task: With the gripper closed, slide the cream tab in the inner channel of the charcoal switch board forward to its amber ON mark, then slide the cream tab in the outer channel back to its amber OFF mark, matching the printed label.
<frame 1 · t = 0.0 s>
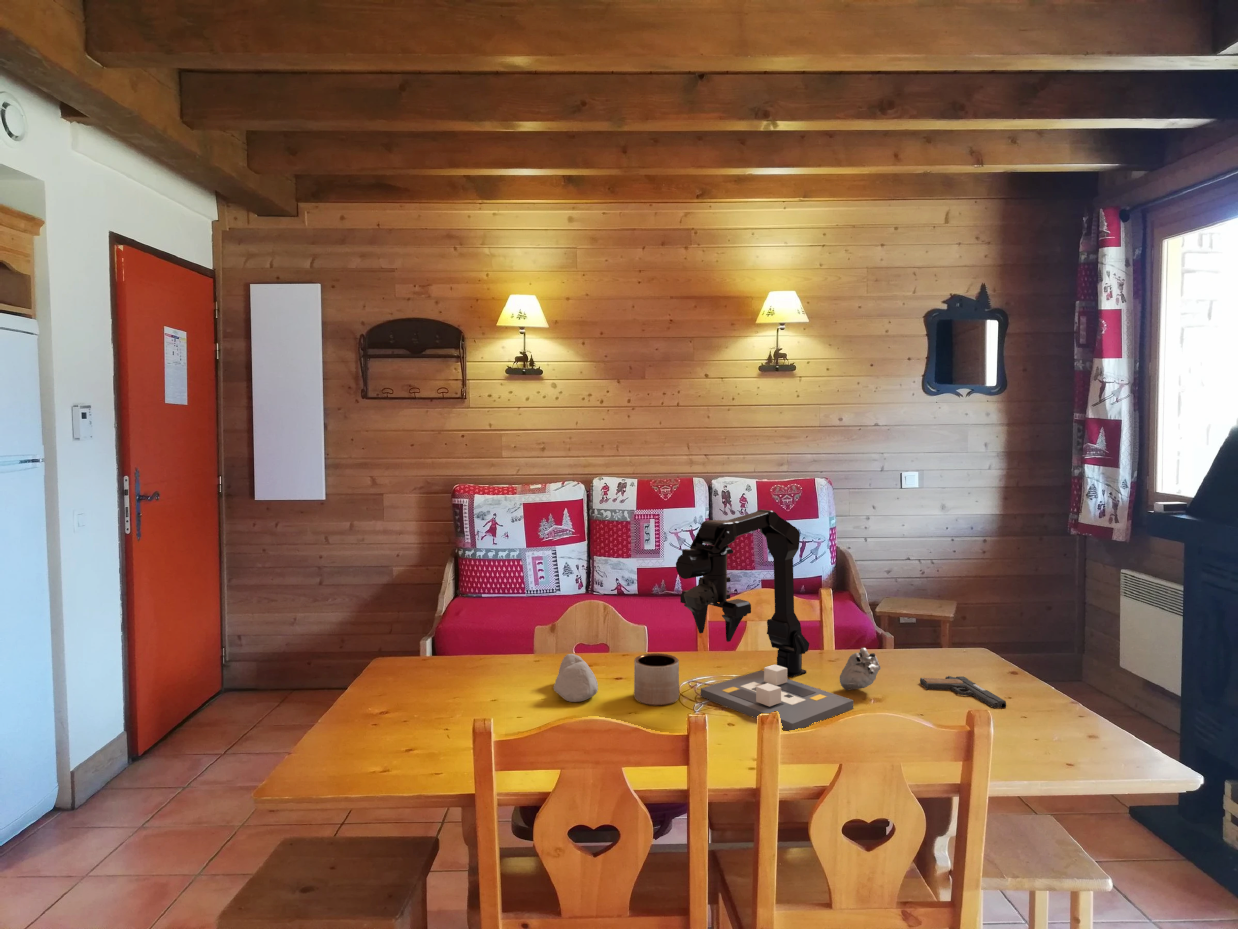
hand: (714, 637, 190), 15 cm above the table, fingers open, 9 cm apart
planter: (656, 699, 190), on the table
switch board: (775, 702, 187), on the table
tab inner: (775, 674, 194), point 4 cm above the table, slide at 0.0 cm
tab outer: (768, 694, 180), point 4 cm above the table, slide at 8.0 cm
handgun: (960, 697, 192), on the table
heart: (858, 692, 194), on the table
decorative stone: (574, 693, 194), on the table
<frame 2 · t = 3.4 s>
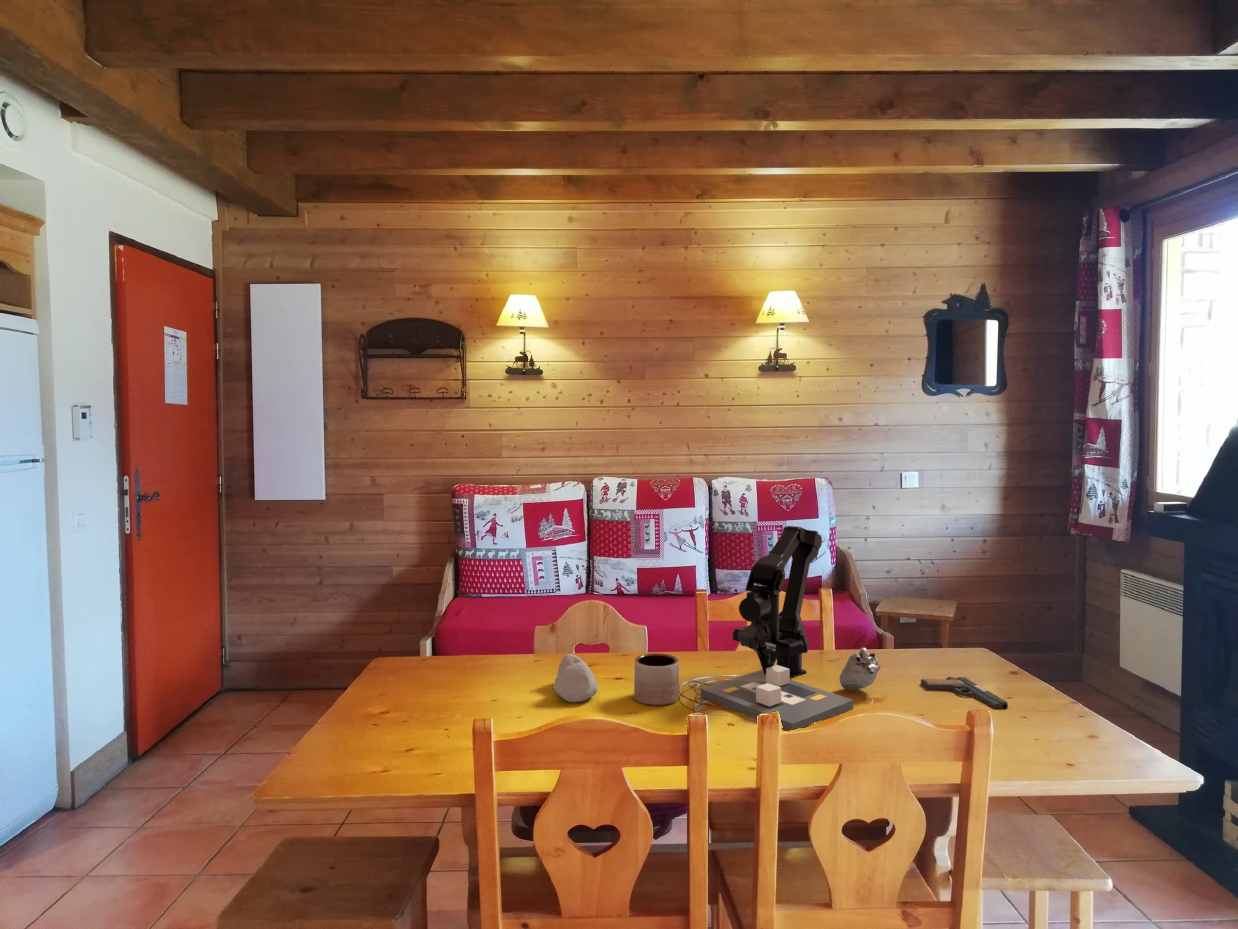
hand: (766, 674, 196), 4 cm above the table, fingers closed
tab inner: (777, 675, 193), point 4 cm above the table, slide at 0.7 cm, touching gripper
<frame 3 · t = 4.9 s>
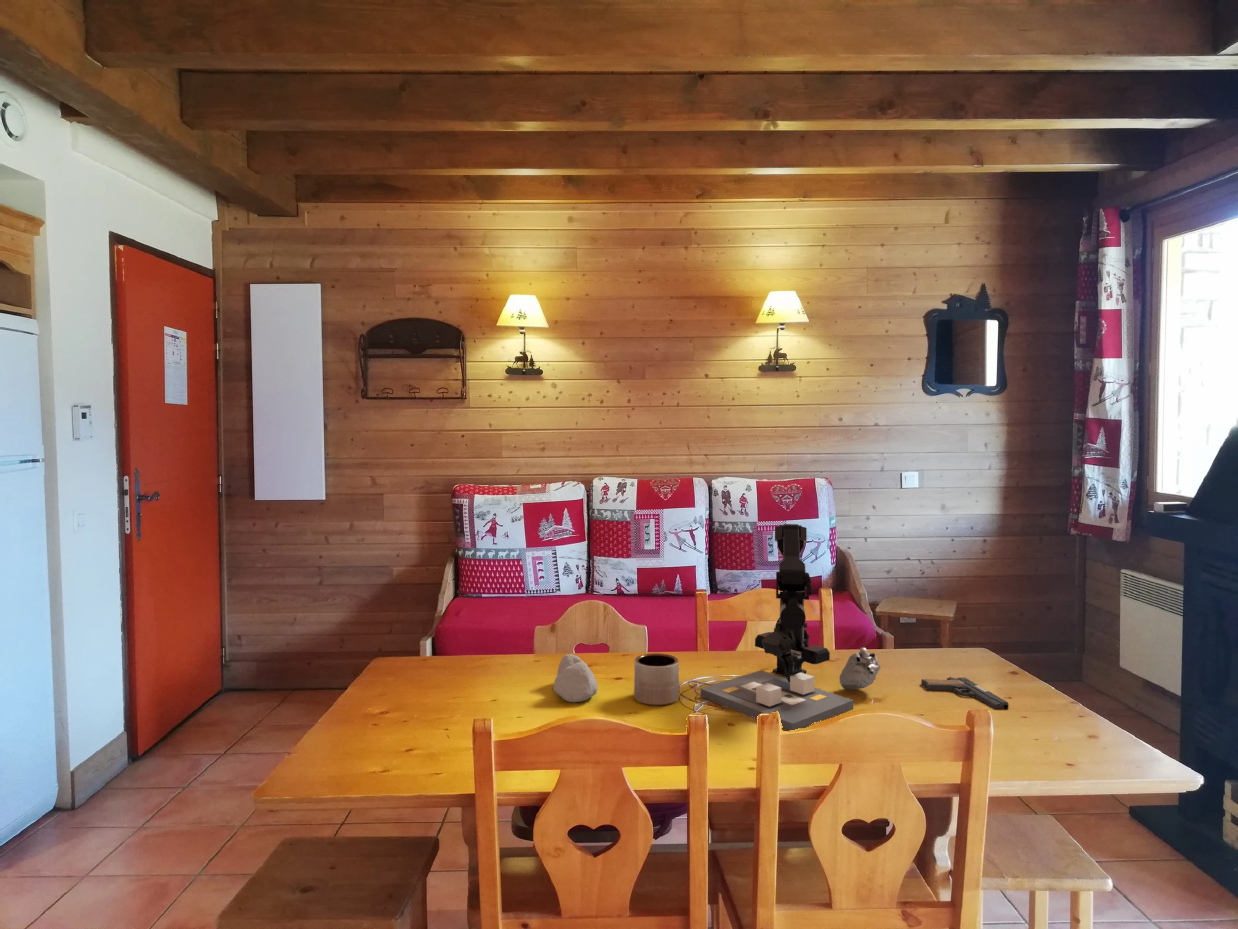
hand: (790, 682, 190), 4 cm above the table, fingers closed
tab inner: (802, 683, 188), point 4 cm above the table, slide at 8.1 cm, touching gripper
everything else where it was.
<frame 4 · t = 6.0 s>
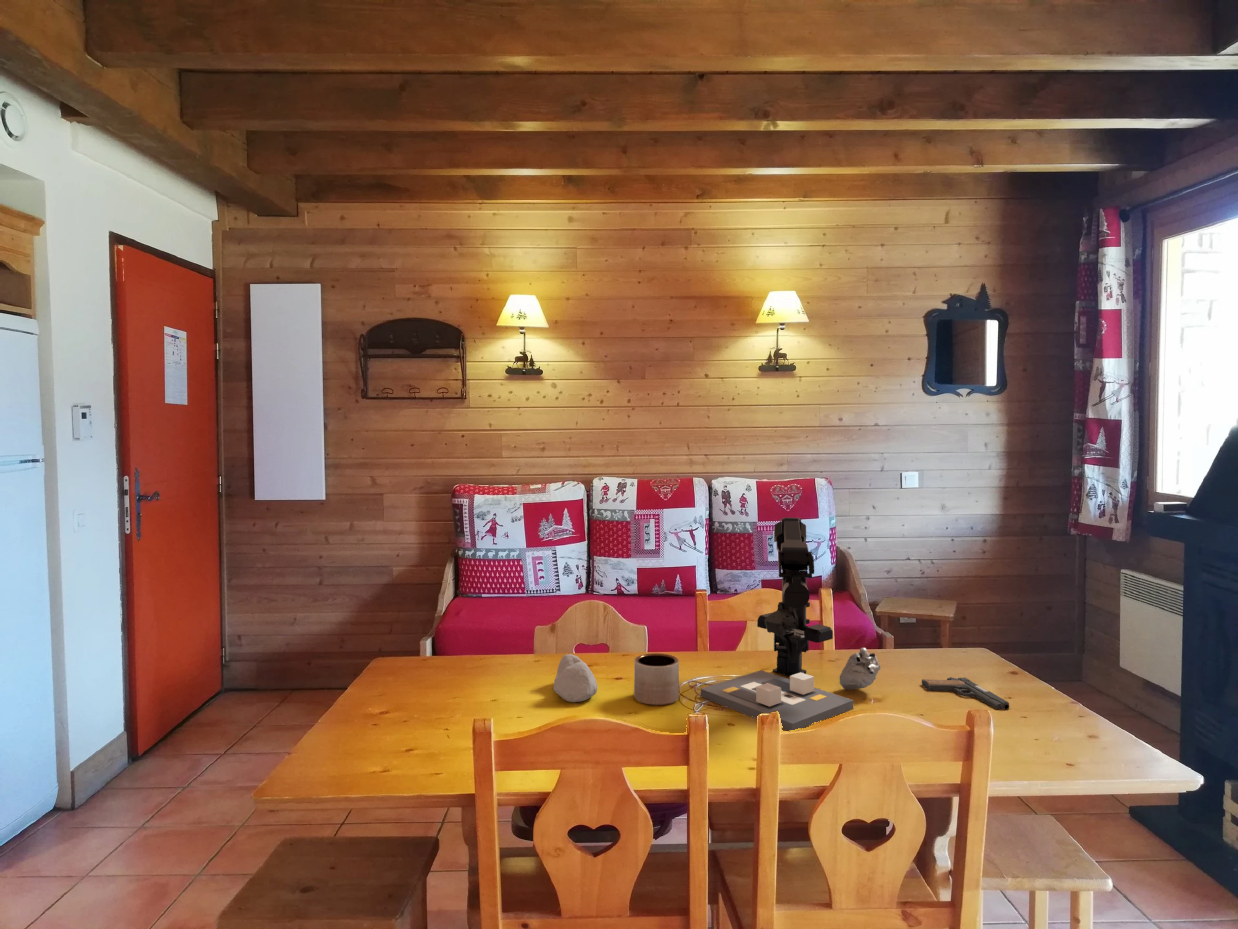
hand: (793, 662, 189), 9 cm above the table, fingers closed
tab inner: (801, 683, 188), point 4 cm above the table, slide at 8.1 cm
everything else where it was.
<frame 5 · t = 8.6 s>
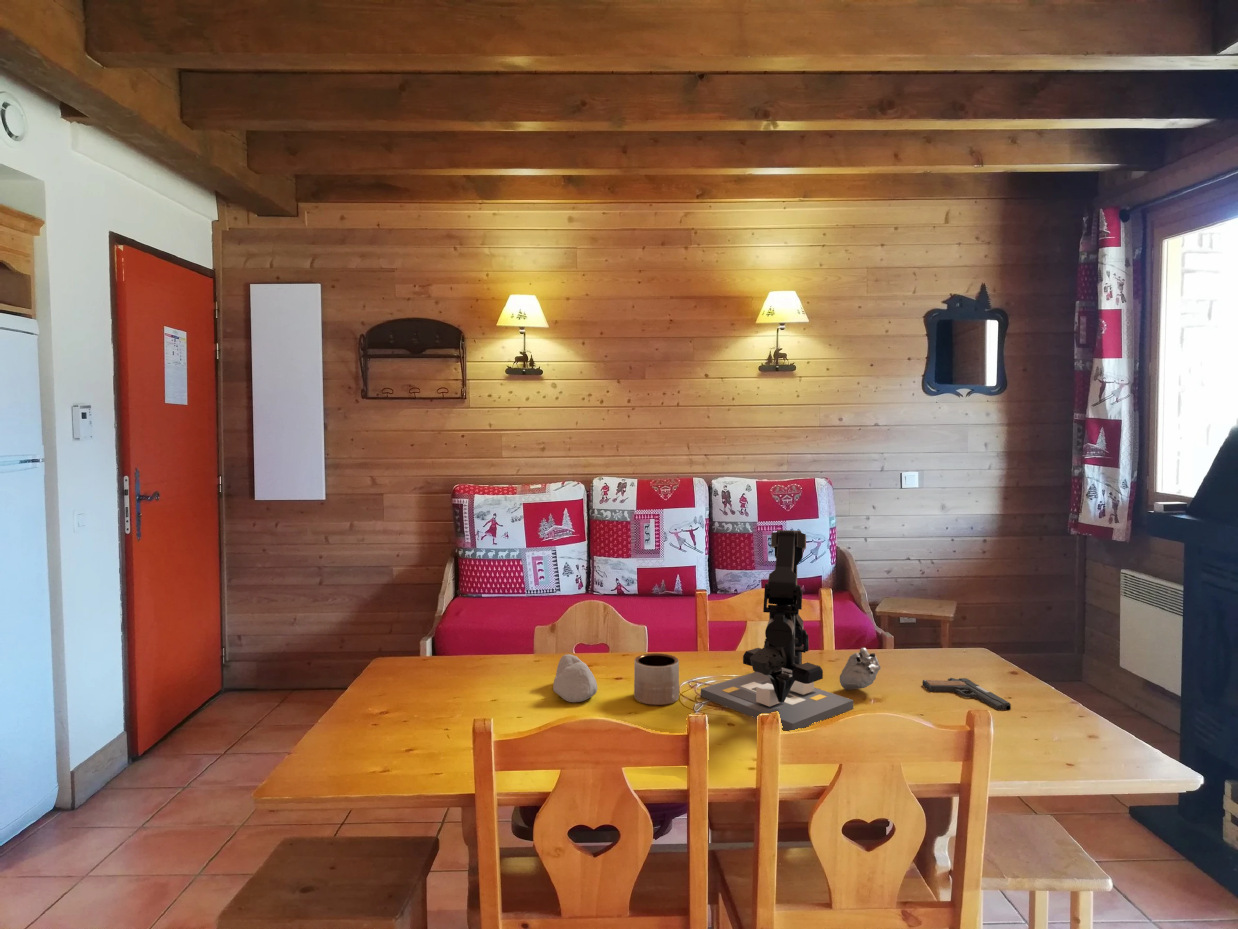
hand: (781, 702, 178), 3 cm above the table, fingers closed
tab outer: (768, 694, 180), point 4 cm above the table, slide at 8.0 cm, touching gripper
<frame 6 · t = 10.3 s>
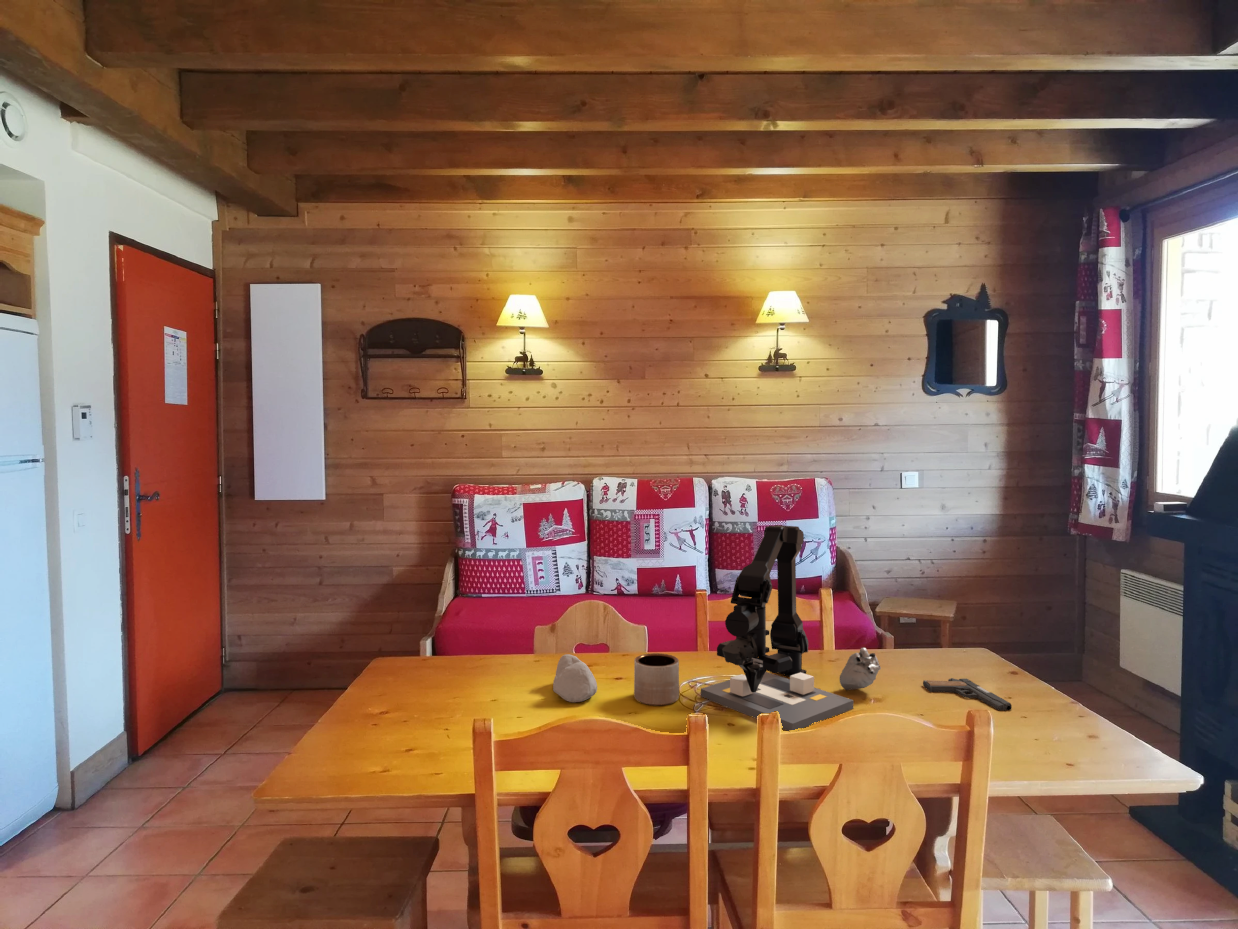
hand: (753, 692, 184), 3 cm above the table, fingers closed
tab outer: (742, 685, 187), point 4 cm above the table, slide at -0.1 cm, touching gripper
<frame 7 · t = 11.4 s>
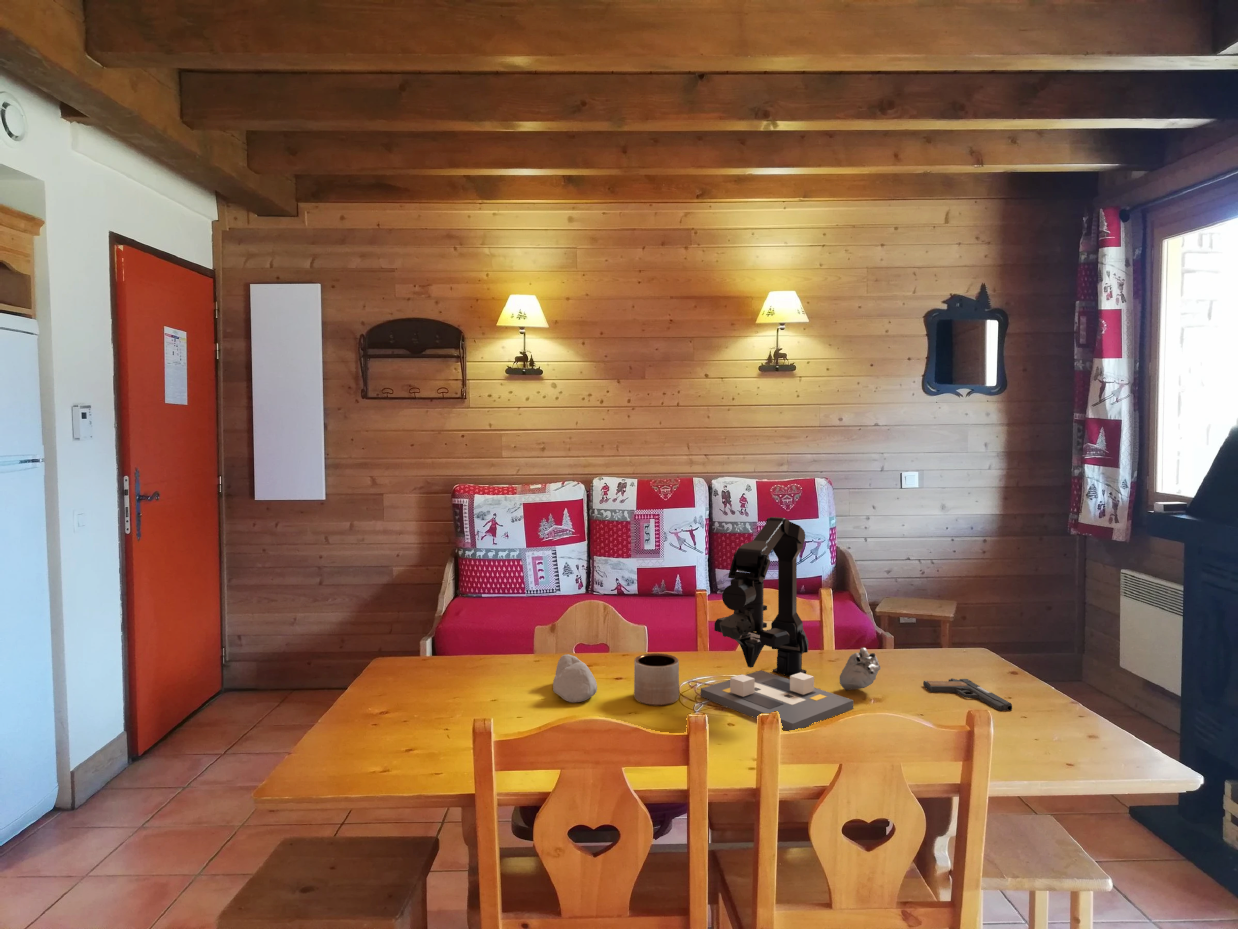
hand: (750, 667, 184), 9 cm above the table, fingers closed
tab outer: (742, 685, 187), point 4 cm above the table, slide at -0.1 cm
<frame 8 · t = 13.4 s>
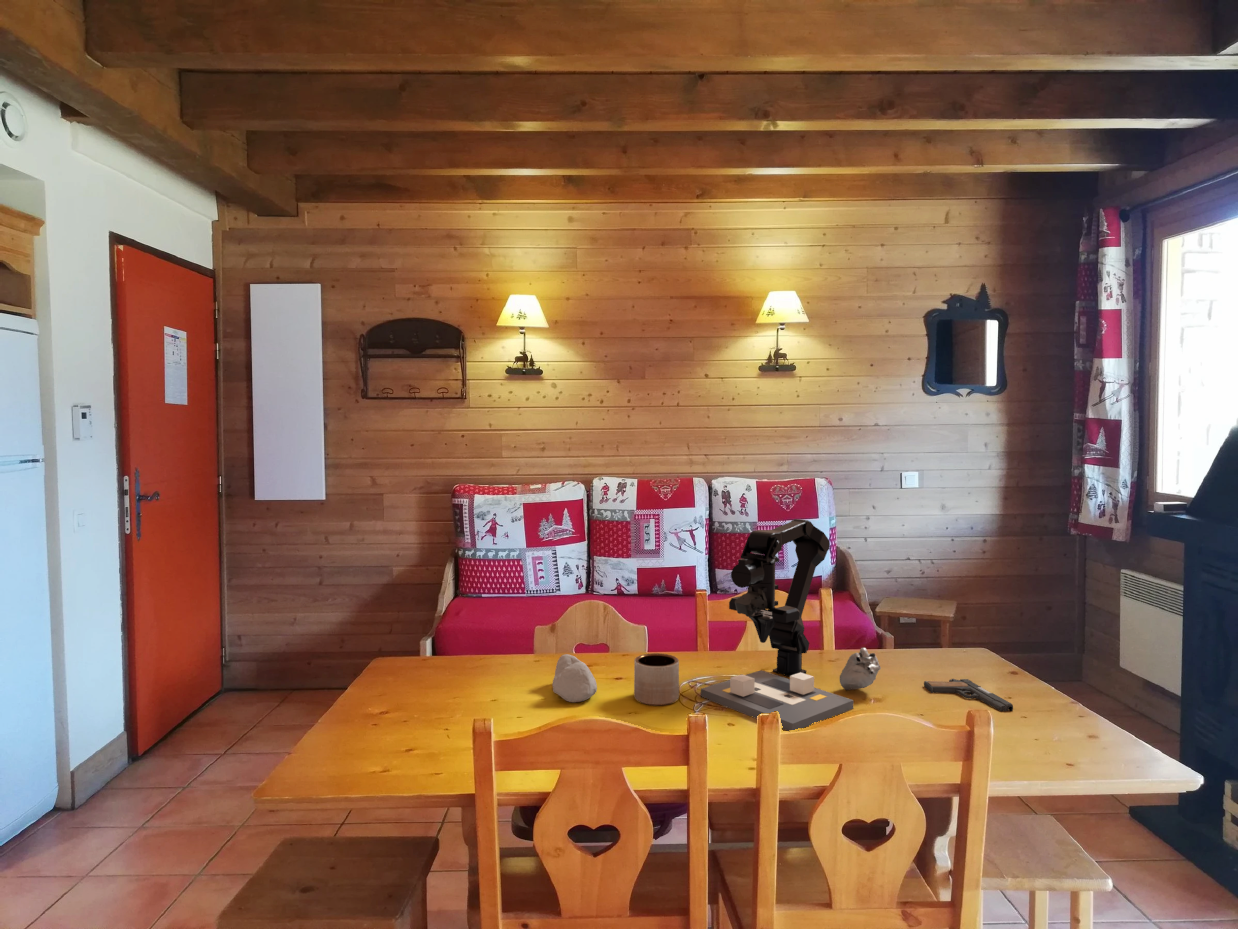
hand: (763, 642, 198), 11 cm above the table, fingers closed
at the end: tab inner slide at 8.1 cm; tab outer slide at -0.1 cm; planter moved 0.3 cm from its start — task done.
